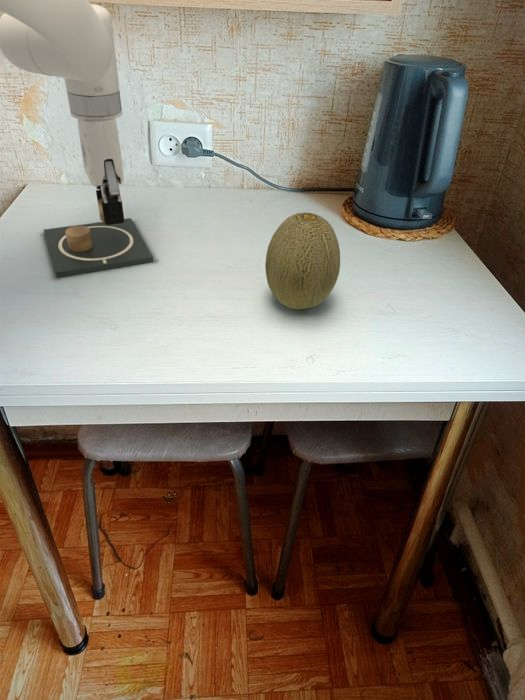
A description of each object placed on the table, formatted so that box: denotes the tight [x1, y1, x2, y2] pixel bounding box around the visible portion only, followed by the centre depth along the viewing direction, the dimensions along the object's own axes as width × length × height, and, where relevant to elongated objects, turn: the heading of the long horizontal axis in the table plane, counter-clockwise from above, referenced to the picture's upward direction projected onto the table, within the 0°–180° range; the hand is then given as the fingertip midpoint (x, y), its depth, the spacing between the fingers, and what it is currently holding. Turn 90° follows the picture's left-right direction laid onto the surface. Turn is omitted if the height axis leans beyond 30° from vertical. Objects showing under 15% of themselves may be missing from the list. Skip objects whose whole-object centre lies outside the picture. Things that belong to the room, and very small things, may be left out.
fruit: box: [264, 212, 341, 310], centre depth 76 cm, size 11×11×15 cm
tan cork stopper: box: [97, 198, 125, 222], centre depth 87 cm, size 4×4×3 cm
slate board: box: [43, 217, 154, 278], centre depth 91 cm, size 16×16×1 cm
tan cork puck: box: [65, 225, 92, 252], centre depth 88 cm, size 4×4×3 cm
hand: (111, 216), depth 88 cm, fingers closed on tan cork stopper, 4 cm apart
